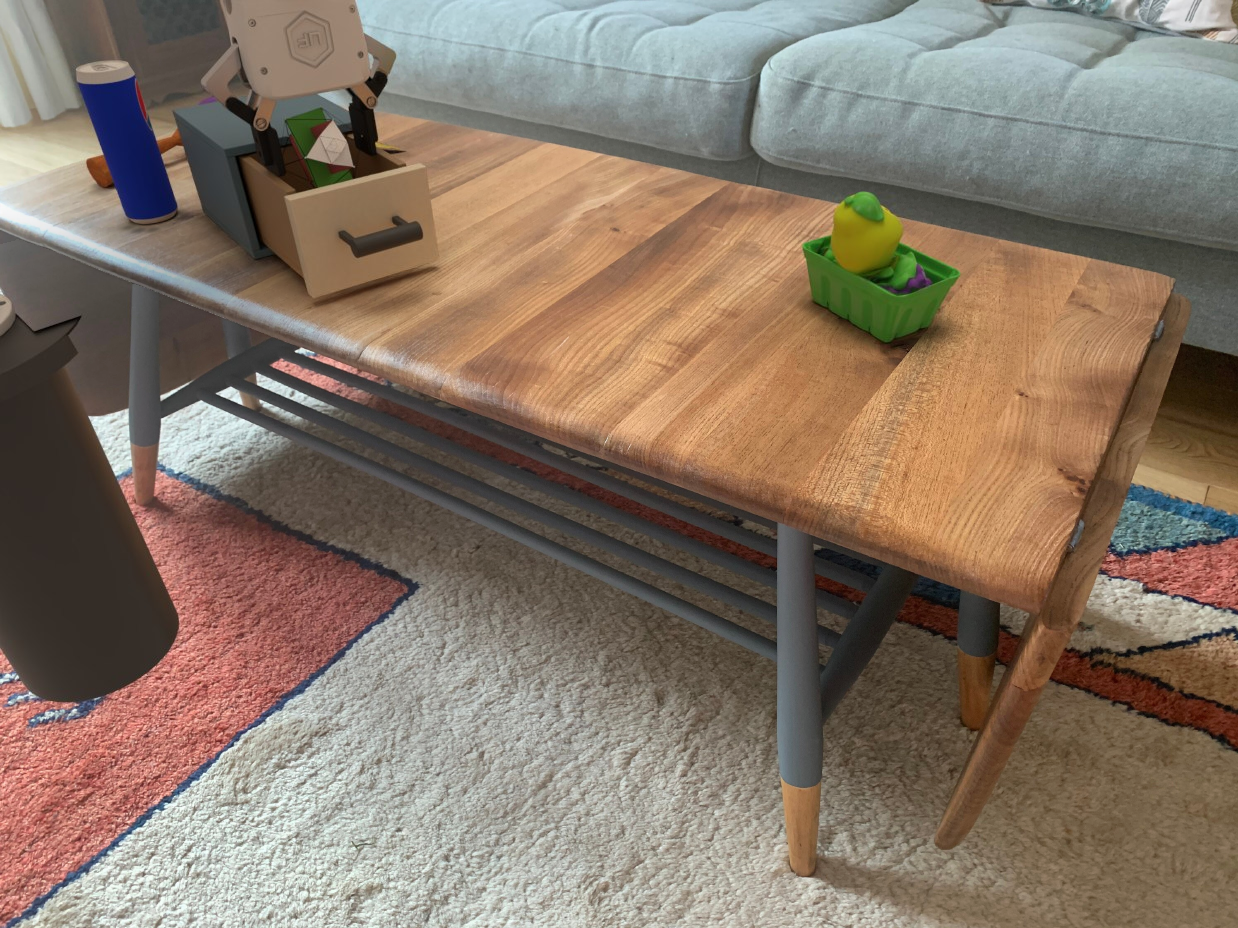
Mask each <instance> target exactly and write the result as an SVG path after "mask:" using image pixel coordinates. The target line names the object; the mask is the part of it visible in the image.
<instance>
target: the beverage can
mask: <svg viewBox="0 0 1238 928" xmlns="http://www.w3.org/2000/svg"><path fill="white" fill-rule="evenodd" d="M75 71H76V72H75V73H76V82H77V86H78V88H79V91H80V94H81V96H82V99H83V102H84V104H85V108H86V111H87V113H88V117H89V119H90V121H91V125H92V127H93V130H94V132H95V135H96V138H97V141H98V143H99V146H100V149H101V151H102V155H104V157H105V160H106V163H107V166H108V168H109V171H110V174H111V177H112V179H113V182H114V183H113V185H114V187H115V190H116V194H117V195H118V199H119V201H120V204H121V207H122V210H123V212H124V215H125V217H126V218H127V219H129V220H130V221H132V222H133V223H135V224H140V225H150V224H158V223H162V222H164V221H167V220H170V219H171V218H173V217H174V216H175V215H176V214H177V213H176V212H177V211H178V207H179V206H178V201H177V199H176V196H175V193H174V190H173V187H172V184H171V181H170V177H169V175H168V172H167V169H166V166H165V162H164V160H163V157H162V156H163V155H162V154H161V153H160V150H159V147H158V144H157V137H156V135H155V132H154V131H155V130H154V128H153V125H152V122H151V118H150V116H149V113H148V109H147V106H146V104H145V103H146V102H145V101H144V98H143V94H142V92H141V88H140V85H139V82H138V79H137V76H136V72H135V71H134V70H133V68H132V67H131V65H130V63H129V62H128V61H125V60H117V59H115V60H114V59H112V60H110V59H109V60H99V61H94V62H89V63H84V64H82V65H79V66H77V67H76V69H75Z"/></svg>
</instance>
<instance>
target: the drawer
mask: <svg viewBox="0 0 1238 928" xmlns="http://www.w3.org/2000/svg"><path fill="white" fill-rule="evenodd" d="M342 134H343V136H344V137H345V139H346V140H347V141H348V140H351V139H354V136H353V133H352V132H350V131H348V132H343V133H342ZM348 146H349V150H350V154H351V157H352V161H353V165H354V164H355V168H353V169H352V168H350V169H349V170H350V173H351V175H352V178H353V180H349V181H345V182H341V183H337V184H332V185H328V186H324V187H320V188H317V187H316V185H315V183H314V182H311V183H312V184H313V186H314V187H315V188H316V189H315V188H314V187H313V186H312V184H311V183H310V182H309V181H307V180H308V178H307V176H306V174H305V171H304V169H303V167H302V165H301V163H300V161H296V160H299V159H298V156H297V154H296V152H295V150H294V148H293V146H292V144H288V145H286V148H285V145H283V146H280V147H281V151H282V154H283V151H284V148H285V151H284V154H283V159H284V164H288V163H291V162H294V161H296V162H294V163H291V164H288V165H285V168H286V170H287V171H289V172H291V173H293V174H291V173H289V172H287V171H286V174H285V176H281V177H278V176H276V175H275V174H274V173H272V172H271V171H270V170H268V169H267V167H266V166H265V167H264V166H263V165H262V164H261V163H260V161H259V158H258V155H257V151H256V152H251V153H246V154H242V155H237V156H238V160H239V164H240V167H241V171H242V175H243V178H244V182H245V186H246V189H247V193H248V197H249V200H250V204H251V208H252V211H253V215H254V219H255V222H256V226H257V230H258V233H259V237H260V240H261V241H262V242H263V243H264V244H265V245H266V246H268V247H269V248H270V249H271V250H272V251H273V252H274V253H275V254H274V255H276V256H278V257H279V259H281V260H282V261H283V262H285V264H286V265H288V266H289V267H290V268H291V269H292V270H294V271H295V272H296V273H297V274H298V275H299V276H300V277H301V278H302V279H304V283H305V287H306V292H307V295H309V296H310V297H311V298H312V299H316V298H319V297H323V296H326V295H331V294H332V293H336V292H339V291H342V290H345V289H350V288H352V287H356V286H359V285H362V284H365V283H368V282H371V281H375V280H378V279H381V278H385V277H388V276H391V275H392V276H393V275H395V274H398V273H401V272H405V271H407V270H411V269H414V268H417V267H421V266H424V265H428V264H430V263H435V262H436V261H440V254H439V247H438V240H437V233H436V226H435V219H434V213H433V205H432V199H431V192H430V184H429V179H428V177H429V176H428V171H427V166H426V165H424V164H423V163H421V162H420V163H419V162H418V163H414V164H411V165H407V163H406V162H405V161H403V160H402V159H399V157H396V156H395V155H392V154H391V153H389V152H387V151H385V150H384V149H383V148H378V147H377V146H376V150H377V155H373V156H370V155H367V154H366V153H364V152H362V151H361V150H360V151H359V150H358V149H357V148H356V146H355V142H354V140H352V141H349V142H348ZM357 153H358V154H357ZM358 155H359V157H358ZM356 157H357V158H356ZM355 160H356V162H355ZM357 161H358V163H357ZM356 166H357V168H356ZM351 169H352V170H351ZM355 172H356V174H355ZM287 173H288V174H287ZM294 174H295V175H294ZM290 175H291V176H290ZM296 175H298V176H300V177H302V178H304V179H302V178H300V177H298V176H296ZM293 177H294V178H293ZM354 178H355V179H354ZM296 179H297V180H296ZM305 179H306V180H305ZM299 181H300V182H299ZM309 188H310V189H309Z"/></svg>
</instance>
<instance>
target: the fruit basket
mask: <svg viewBox="0 0 1238 928" xmlns="http://www.w3.org/2000/svg"><path fill="white" fill-rule="evenodd" d="M832 217H833V219H832V222H833V227H832V231H831V234H828V235H826V236H825V235H824V236H822V237H818V238H814V239H811V240H809V241H806V242H804V243H802V244H801V248H802V253H803V257H804V259H805V261H806V267H807V273H808V279H809V280H808V281H809V287H810V293H811V298H812V301H813V302H815V303H817V304H818V305H820V306H822V307H824V308H827V309H829V310H830V311H831V312H832V313H833V314H835V315H837V316H839V317H840V318H842V319H845V320H848V321H849V322H850V323H851V324H852V325H855V326H856V327H858V328H859V329H861V330H863V331H865V332H867V333H870V334H871V335H872V336H873V337H875V338H877V339H878V340H879V341H882V342H883V343H890V342H892V341H893V340H894V339H899V338H903V337H905V336H908V335H911V334H913V333H915V332H918V330H919V329H926V328H928V327H930V326H931V323H932V322H933V320H934V318H935V317H936V315H937V313H938V312H939V309H940V307H941V306H942V304H943V303H944V301H945V299H946V297H947V295H948V293H949V292H950V290H951V289H952V287H953V286H955V284H956V283H957V281H958V279H959V278H960V276H961V273H962V272H961V271H960V270H959V269H957V268H955V267H954V266H952V265H950V264H947V263H945V262H943V261H941V260H939V259H937V258H934V257H932V256H930V255H928V254H925V253H923V252H921V251H920V250H917V249H915V248H913V247H911V246H909V245H907V244H904V243H902V242H901V239H902V237H903V235H904V227H903V224H902V222H901V220H900V219H899V217H898V216H897V215H895V214H894V213H891V211H890V210H889V209H888V208H886V207H885V206H883V205H881V203H880V200H879V199H878V198H877V197H876V196H875V194H873V193H872V192H869V191H858V192H856V193H855V194H853V195H849V196H847V197H846V198H845V199H844V200H842V201H841V202H840V203H839V205H837V207H836V208H835V210H834V213H833V216H832Z"/></svg>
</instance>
